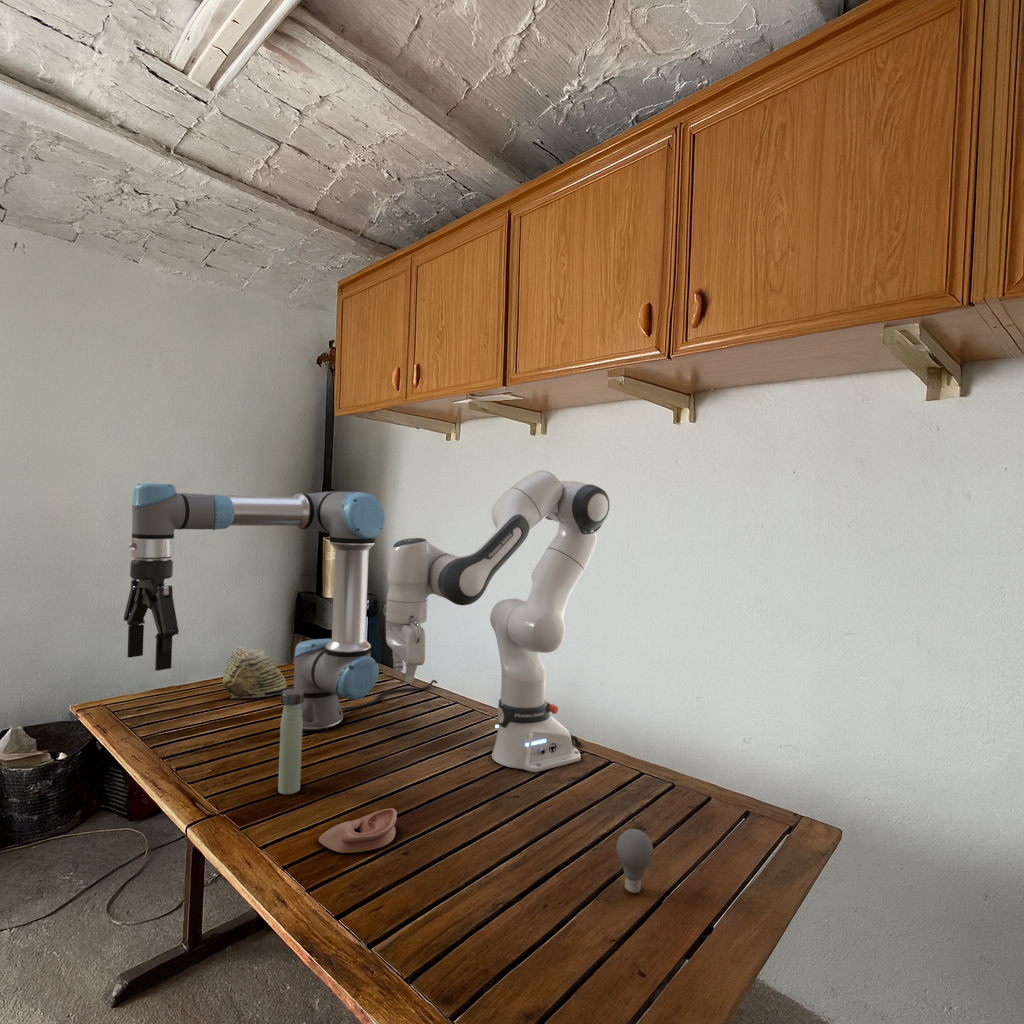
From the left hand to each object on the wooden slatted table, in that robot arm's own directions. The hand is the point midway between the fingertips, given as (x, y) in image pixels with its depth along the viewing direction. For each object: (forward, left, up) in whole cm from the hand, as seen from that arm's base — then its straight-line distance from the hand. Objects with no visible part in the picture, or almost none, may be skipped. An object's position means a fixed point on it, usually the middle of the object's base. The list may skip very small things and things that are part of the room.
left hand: (148, 662), depth 129 cm
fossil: (-50, -47, -28) cm, 74 cm away
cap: (-22, +17, -7) cm, 29 cm away
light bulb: (-41, +90, -28) cm, 103 cm away
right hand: (-38, +34, -3) cm, 51 cm away
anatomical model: (-20, +44, -28) cm, 56 cm away
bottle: (-22, +17, -28) cm, 40 cm away
